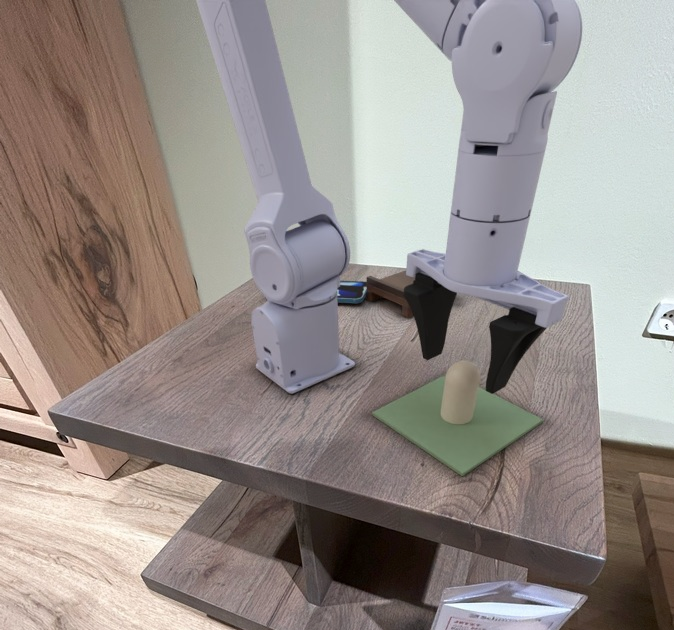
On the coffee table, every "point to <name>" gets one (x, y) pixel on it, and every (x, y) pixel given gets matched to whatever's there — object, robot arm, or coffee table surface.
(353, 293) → the smartphone
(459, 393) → the beige rounded peg
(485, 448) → the mat
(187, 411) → the coffee table surface
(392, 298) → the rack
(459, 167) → the robot arm
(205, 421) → the coffee table surface
